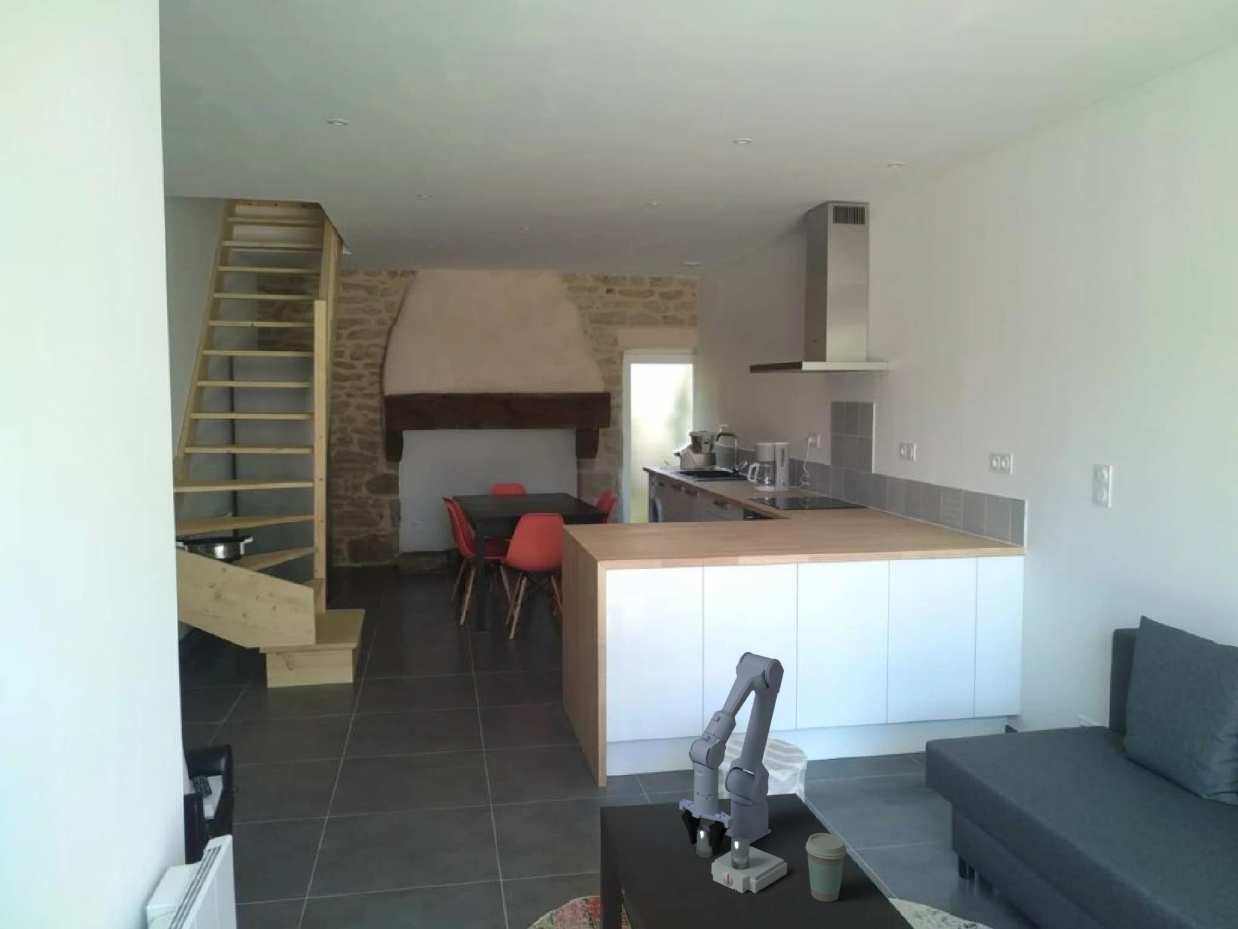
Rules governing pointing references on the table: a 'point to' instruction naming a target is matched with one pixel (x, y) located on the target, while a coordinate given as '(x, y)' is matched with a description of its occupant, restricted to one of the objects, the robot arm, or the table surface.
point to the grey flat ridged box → (749, 871)
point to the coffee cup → (825, 865)
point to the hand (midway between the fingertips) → (705, 847)
